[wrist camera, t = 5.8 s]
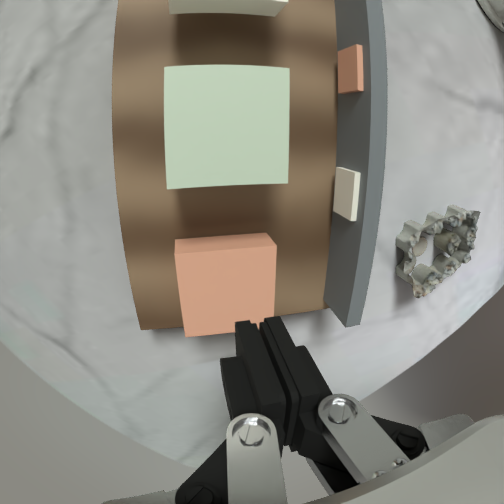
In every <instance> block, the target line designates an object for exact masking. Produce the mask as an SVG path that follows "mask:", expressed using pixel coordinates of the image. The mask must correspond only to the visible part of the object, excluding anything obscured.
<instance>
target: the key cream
mask: <svg viewBox="0 0 504 504" xmlns="http://www.w3.org/2000/svg"><path fill="white" fill-rule="evenodd" d="M168 2H169V13H170V14H183V13H235V14H251V15H263V16H273V17H275V16H276V15H277V14H278V13H279V12H280V11H281V10H282V9H283V7H284V6H285V5H286V4H287V3H288V0H168Z"/></svg>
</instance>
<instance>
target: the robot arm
mask: <svg viewBox="0 0 504 504" xmlns="http://www.w3.org/2000/svg"><path fill="white" fill-rule="evenodd" d="M478 2H479V4H480V5H481V7H482V9H483V10H484V12H485V13H486V15H487V16H488V17H489V19H490V20H491V21H492V22H493V23H494V25H495V26H496V27H497V28H499V29H500V30H501V31H502V32H504V0H478ZM235 340H236V357H229V358H221V359H220V365H221V374H222V381H223V387H224V392H225V397H226V401H227V406H228V410H229V415H230V419H231V422H230V424H229V425H228V427H227V432H226V436H227V439H226V440H225V441H224V442H223V443H222V444H221V445H220V446H219V447H218V448H217V449H216V450H215V452H214V453H213V454H212V455H211V456H210V457H209V458H208V459H207V460H206V461H205V462H204V463H203V464H202V465H201V466H200V467H199V468H198V469H197V470H196V471H195V472H194V473H193V474H192V475H191V476H190V477H189V478H188V479H187V480H186V481H185V482H184V483H183V484H182V485H181V486H180V487H179V489H176V490H172V491H169V492H165V491H164V490H163V491H159V492H154V493H150V494H145V495H139V496H134V497H129V498H121V499H114V500H109V501H106V502H103V503H102V504H288V502H287V497H286V490H285V484H284V477H283V471H282V465H281V457H282V450H283V445H284V446H287V445H289V447H290V450H291V452H294V451H298V453H299V455H301V456H304V457H306V460H307V462H308V464H309V466H310V467H311V469H312V470H313V472H314V473H315V475H316V476H317V478H318V480H319V481H320V482H321V484H322V486H323V487H324V488H325V490H326V491H327V493H328V494H329V496H327V497H324V498H321V499H318V500H314V501H311V502H307V503H304V504H504V415H497V416H492V417H489V418H486V419H483V420H481V421H479V422H477V423H474V421H473V420H472V419H471V418H470V417H468V416H467V415H465V414H456V415H453V416H450V417H446V418H443V419H440V420H436V421H432V422H429V423H425V424H421V425H419V427H418V428H414V427H412V426H409V425H405V424H401V423H396V422H393V421H389V420H386V419H382V418H379V417H375V416H372V415H370V414H369V413H368V412H367V411H366V410H365V408H364V407H363V406H362V405H361V404H360V403H359V402H358V401H357V400H356V399H355V398H353V397H351V396H349V395H345V394H334V395H333V394H332V392H331V390H330V389H329V387H328V385H327V383H326V382H325V380H324V378H323V376H322V375H321V373H320V371H319V369H318V367H317V366H316V364H315V362H314V360H313V359H312V357H311V355H310V353H309V351H308V350H307V348H306V347H305V346H304V345H302V346H297V347H296V346H295V344H294V343H293V341H292V339H291V337H290V335H289V333H288V331H287V329H286V327H285V325H284V323H283V322H282V320H281V318H280V316H274V317H267V318H264V322H260V323H259V329H258V327H257V324H256V323H251V322H250V320H245V321H237V322H235Z"/></svg>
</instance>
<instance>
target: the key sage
mask: <svg viewBox="0 0 504 504" xmlns="http://www.w3.org/2000/svg"><path fill="white" fill-rule="evenodd" d="M289 99H290V70H289V68H282V67H269V66H253V65H186V66H169V67H164V138H165V164H166V182H167V189H180V188H193V187H209V186H227V185H249V184H286V183H288V165H289Z"/></svg>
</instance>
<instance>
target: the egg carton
mask: <svg viewBox="0 0 504 504" xmlns="http://www.w3.org/2000/svg"><path fill="white" fill-rule="evenodd" d="M479 215H480V212H479V211H466V210H465V209H463V208H460V207H458V206H456V205H450V206H448V208H447V212H446V214H445V216H442V215H440V214H437V213H435V212H431V213H428V215H427V218H426V221H425V223H424V224H423V225H420V224H418V223H416V222H414V221H412V220H409V221H406V222H405V223H404V227H403V230H402V232H401V233H400V234H399V235H398V236H397V237H396V246H397V247H399V248H401V249H402V250H403V251H404V258H403V260H402V261H401V263H400V264H399V265H397V266H396V274H397V275H398V276H399V277H401V278H402V279H403V280H405V281H406V282H407V283H410V284H411V285H412V289H413V293H414V297H415V298H420V297H421V296H425V295H427V294H428V293H431V291H433V289H435V286H434V285H436V284H439V283H441V282H442V280H443V279H445V278H446V277H448V276H451V275H452V274H453V273H454V272H455V271H456V270H457V268H459V267H460V266H461V263H468V262H469V260H471V256H470V250H472V249H474V244H473V242H474V240H475V238H476V235H475V234H476V231H477V229H478V228H477V226H476V223H477V220H478V218H479ZM442 222H445V223H447V224H449V225H451V226H452V227H453V230H452V232H451V231H449V230H447V229H445V228H443V223H442ZM422 231H423V232H425V233H427V234H429V235H432V234H434V233H436V234H435V236H434V245H435V246H436V247H438V248H439V249H441V250H443V251H444V252H446V253H448V254H449V255H450V257H449V258H448V257H446V256H445V255H443V254H440V255H438V256H437V257H436V258H435V259H434V262H433V264H432V265H431V266H430V267H427V266H426V265H424V264H419V265H417V266H416V267H415V268H414V266H415V264H416V258H415V256H420V255H422V254H423V252H424V251H425V249H426V247H427V240H426V238H425V237H420V234H421V232H422ZM410 247H412V253H413V254H412V253H411V252H410V251H409V248H410ZM413 269H414V270H413ZM412 270H413V272H412ZM411 272H412V275H411V276H409V273H411Z"/></svg>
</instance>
